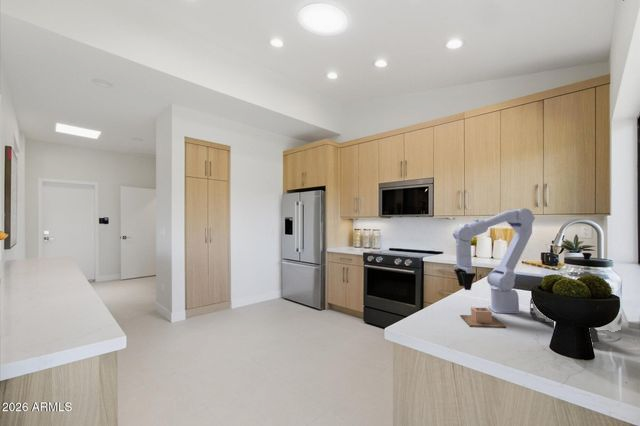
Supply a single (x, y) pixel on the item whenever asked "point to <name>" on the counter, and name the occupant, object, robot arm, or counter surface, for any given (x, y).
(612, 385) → the counter surface
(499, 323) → the peg stand
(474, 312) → the ring
